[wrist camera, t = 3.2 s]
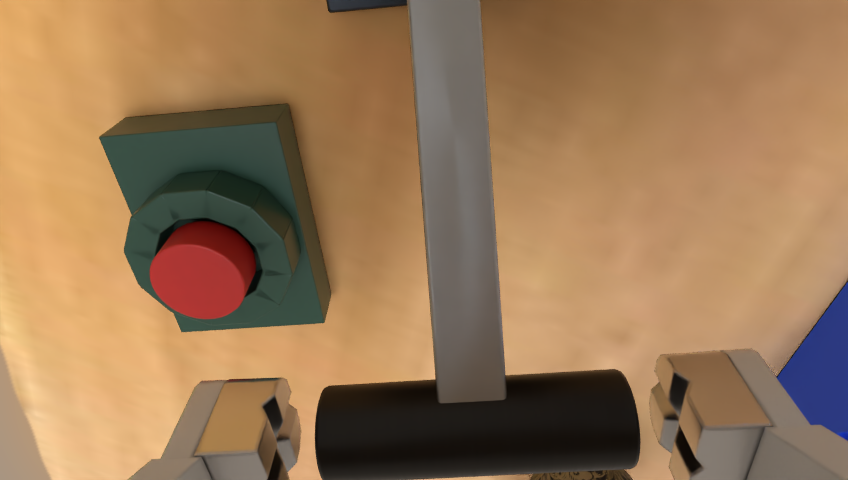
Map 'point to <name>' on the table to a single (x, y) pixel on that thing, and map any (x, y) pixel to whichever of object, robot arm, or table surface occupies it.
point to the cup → (584, 475)
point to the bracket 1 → (361, 4)
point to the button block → (225, 204)
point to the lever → (468, 315)
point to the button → (203, 270)
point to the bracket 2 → (822, 370)
